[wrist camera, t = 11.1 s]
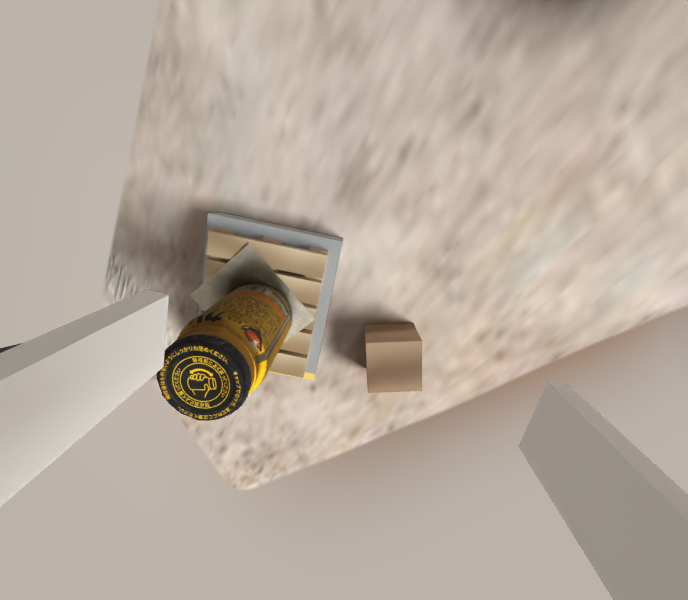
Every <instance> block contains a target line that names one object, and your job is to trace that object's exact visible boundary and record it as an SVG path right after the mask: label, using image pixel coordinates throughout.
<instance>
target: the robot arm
mask: <svg viewBox="0 0 688 600" xmlns="http://www.w3.org/2000/svg"><path fill="white" fill-rule="evenodd" d="M168 301H169V295H168V294H163V293H159V292H154V291H150V290H145V291H142V292H140V293H138V294H135V295H133V296H131V297H129V298H126V299H124V300H122V301H119V302H117V303H115V304H112V305H110V306H108V307H105V308H103V309H101V310H99V311H96V312H94V313H92V314H89V315H87V316H85V317H83V318H80V319H78V320H76V321H73V322H71V323H69V324H66V325H64V326H62V327H59V328H57V329H55V330H52V331H51V332H48V333H46V334H43V335H41V336H39V337H36V338H34V339H32V340H29V341H27V342H25V343H21V344H17V345H13V346H9V347H4V348H0V507H1V506H2V505H3V504H4V503H5V502H7V501H8V500H9V499H10V498H11V497H12V496H14V495H15V494H16V493H17V492H18V491H19V490H21V489H22V488H23V487H24V486H25V485H26V484H27V483H29V482H30V481H31V480H32V479H33V478H34V477H36V476H37V475H38V474H39V473H40V472H42V470H44V469H45V468H46V467H47V466H49V465H50V464H51V463H52V462H53V461H54V460H55V459H57V458H58V457H59V456H60V455H61V454H62V453H63V452H65V451H66V450H67V449H68V448H70V447H71V446H72V445H73V444H74V443H75V442H76V441H78V440H79V439H80V438H81V437H82V436H83V435H84V434H86V433H87V432H88V431H89V430H90V429H92V428H93V427H94V426H95V425H96V424H97V423H99V422H100V421H101V420H102V419H103V418H104V417H105V416H107V415H108V414H109V413H110V412H111V411H113V410H114V409H115V408H116V407H117V406H118V405H120V404H121V403H122V402H123V401H124V400H125V399H126V398H128V397H129V396H130V395H131V394H132V393H134V392H135V391H136V390H137V389H138V388H139V387H141V386H142V385H143V384H144V383H145V382H146V381H148V380H149V379H150V378H151V377H152V376H153V375H155V374H156V373H157V372H158V371H159V370H160V369H162V368H163V366H164V353H165V340H166V327H167V314H168ZM519 448H520V450H521V451H522V453H523V455H524V456H525V458H526V459H527V461H528V463H529V464H530V466H531V468H532V469H533V471H534V472H535V474H536V475H537V477H538V479H539V480H540V482H541V484H542V485H543V487H544V488H545V490H546V492H547V493H548V495H549V497H550V498H551V500H552V501H553V503H554V505H555V506H556V508H557V509H558V511H559V513H560V514H561V516H562V518H563V519H564V520H565V522H566V524H567V526H568V527H569V529H570V530H571V532H572V534H573V535H574V537H575V538H576V540H577V542H578V543H579V545H580V547H581V548H582V550H583V551H584V553H585V555H586V556H587V558H588V560H589V561H590V563H591V564H592V566H593V567H594V569H595V571H596V572H597V574H598V576H599V577H600V579H601V580H602V582H603V584H604V585H605V587H606V589H607V590H608V592H609V593H610V595H611V597H612V598H613V600H688V494H687V493H686V492H685V491H683V490H682V489H681V488H680V487H679V486H678V485H677V484H676V483H675V482H674V481H673V480H671V479H670V478H669V477H668V476H667V475H666V474H665V473H664V472H663V471H662V470H661V469H660V468H658V467H657V466H656V465H655V464H654V463H653V462H652V461H651V460H650V459H649V458H648V457H646V456H645V455H644V454H643V453H642V452H641V451H640V450H639V449H638V448H637V447H636V446H634V445H633V444H632V443H631V442H630V441H629V440H628V439H627V438H626V437H625V436H623V434H621V433H620V432H619V431H618V430H617V429H616V428H615V427H614V426H613V425H612V424H611V423H609V422H608V421H607V420H606V419H605V418H604V417H603V416H602V415H601V414H600V413H599V412H598V411H596V410H595V409H594V408H593V407H592V406H591V405H590V404H589V403H588V402H587V401H586V400H585V399H583V398H582V397H581V396H580V395H579V394H578V393H577V392H576V391H575V390H574V389H573V388H572V387H570V386H568V385H564V384H560V383H555V382H551V381H548V382H547V384H546V386H545V389H544V391H543V393H542V395H541V397H540V400H539V402H538V404H537V406H536V409H535V411H534V413H533V415H532V418H531V420H530V422H529V424H528V427H527V429H526V431H525V433H524V435H523V438H522V440H521V442H520V445H519Z"/></svg>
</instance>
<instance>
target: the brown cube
mask: <svg viewBox="0 0 688 600" xmlns="http://www.w3.org/2000/svg"><path fill="white" fill-rule="evenodd" d="M364 326H365V349H366V371H367V385H368V393H376V392H405V391H422V340H421V338H420V336H419V334H418V332H417V330H416V328H415V326H414V324H413V323H394V324H371V325H364Z"/></svg>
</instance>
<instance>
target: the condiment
mask: <svg viewBox="0 0 688 600" xmlns="http://www.w3.org/2000/svg"><path fill="white" fill-rule="evenodd" d="M189 296H190V297H191V298H192V299H193V300H194V301H195V302H196V304H197V305H199V306H200V307H201V309H202V310H203V311H204V312H203V313H202V314H200V315H199V316H197V317H196V318H195V319H193V320H191V321H190V322H189V323H188V324H187V325H186V326H185V327H184V329H183V330H182V331H181V333H180V335H179V336H178V339H177V340H176V341H175V342H174V343H173V344H172V345H171V346H169V347H168V348H167V349H166V350H165V353H164V366H163V368H162V369H160V370H159V371H158V372H157V380H158V383H159V386H160V389H161V392H162V395H163V396H164V397H165V399H166V400H167V401H168V402H169V404H170V405H171V406H172V407H174V408H175V409H176V410H177V411H179V412H180V413H181V414H184V415H187V416H189V417H192V418H194V419H196V420H216V419H220V418H223V417H225V416H227V415H230V414H232V413H233V412H234V411H236V410H237V409H239V407H240V406H242V404H243V403H244V401H245V400H246V398H247V396H248V395H249V394H251V393H252V392H253V391H254V390H255V389H256V388H257V387H258V386H259V385H260V384H261V383H262V381H263V380H264V378H265V376H266V374H267V372H268V371H269V368H270V366H271V365H272V363H273V361H274V358H275V357H276V355H277V354H278V351H279V349H280V348H281V346H282V344H283V343H284V342H286V341H287V340H288V339H290V338H291V337H292V336H294V335H295V334H296V333H298V332H299V331H301V330H302V329H303V328H304V327H306V326H307V325H309V324H310V323H311V322H312V321H314V320H315V318H314V317H313V316H312V315H311V314H310V313H309V311H308V310H307V309H306V308H305V307H304V305H303V304H302V303H301V302H300V301H299V300H298V298H297V297H296V296H295V295H294V294H293V292H292V291H291V290H290V289H289V288H288V287H287V286H286V284H285V283H284V282H283V281H282V280H281V279H280V278H279V277H278V276H277V275H276V273H275V272H274V271H273V270H272V268H271V267H270V266H269V265H268V264H267V262H266V261H265V260H264V259H263V258H262V257H261V256H260V255H259V254H258V253H257V251H256V250H255V249H254V248H253V247H252V245H251V244H250V243H249V244H248V245H247V246H246V247H245V248H244V249H243V250H241V251H240V252H239V253H238V254H237V255H236V256H234V257H233V258H232V259H231V260H230V261H229V262H227V263H226V264H225V265H224V266H223V267H222V268H221V269H219V270H218V271H217V272H216V273H215V274H214V275H212V276H211V277H210V278H209V279H208V280H206V281H205V282H204V283H203V284H202V285H201V286H200V287H198V288H197V289H196V290H195V291H194V292H192V293H191V294H190V295H189Z"/></svg>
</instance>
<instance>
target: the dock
mask: <svg viewBox="0 0 688 600" xmlns="http://www.w3.org/2000/svg"><path fill="white" fill-rule="evenodd" d="M215 227H221V228H225V229H230V230H235V231H236V233H235V235H239V236H244V237H249V238H253V239H258V240H262V238H263V237H268V238H273V239H278V240H282V245H287V246H291V247H296V248H301V249H306V250H310V247H315V248H320V249H325V250H329V252H328V257H327V262H326V267H325V273H324V278H323V283H322V288H321V293H320V298H319V303H318V309H317V314H316V319H315V324H314V329H313V334H312V339H311V344H310V350H309V355H308V360H307V365H306V370H305V373H304V376H303V378H301V377H296V376H291V375H286V374H281V373H276V372H271V371H268V372H271V373H276V374H281V375H286V376H291V377H296V378H301V379H306V380H311V381H314V377H315V373H316V369H317V364H318V359H319V354H320V349H321V345H322V340H323V335H324V330H325V325H326V320H327V315H328V310H329V305H330V300H331V296H332V291H333V286H334V281H335V276H336V271H337V266H338V261H339V256H340V251H341V247H342V242H343V238H340V237H335V236H330V235H326V234H321V233H316V232H311V231H307V230H302V229H297V228H293V227H288V226H283V225H278V224H274V223H269V222H264V221H260V220H255V219H250V218H245V217H241V216H236V215H231V214H227V213H222V212H217V213H208V217H207V227H206V238H205V248H204V258H203V269H202V279H201V285H202V284H203V283H204V273H205V262H206V259H207V258H210V257H211V255H206V252H207V242H208V232H209V231H211V230H213V228H215ZM278 271H279V272H283V273H288V274H293V275H298V276H302V277H305V275H302V274H297V273H293V272H288V271H283V270H278ZM201 311H202V309H201V307H200V306H199V310H198V316H199V315H200V313H201Z"/></svg>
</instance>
